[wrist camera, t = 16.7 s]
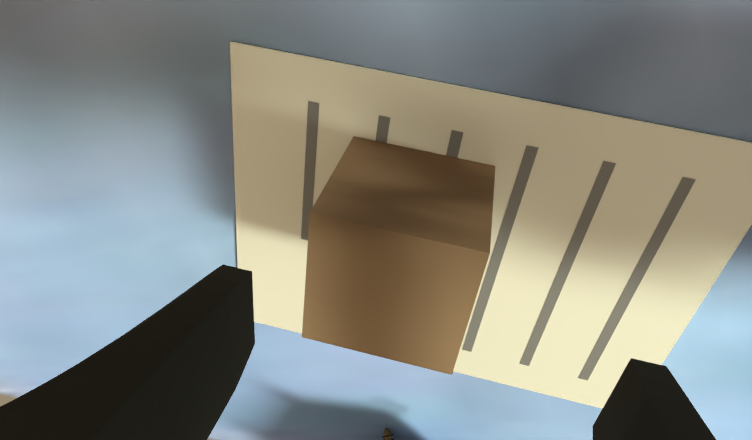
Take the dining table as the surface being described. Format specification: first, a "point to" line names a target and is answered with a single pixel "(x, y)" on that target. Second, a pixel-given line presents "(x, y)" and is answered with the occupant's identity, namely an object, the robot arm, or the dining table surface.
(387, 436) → the game die
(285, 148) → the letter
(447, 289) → the walnut block
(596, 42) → the dining table surface
